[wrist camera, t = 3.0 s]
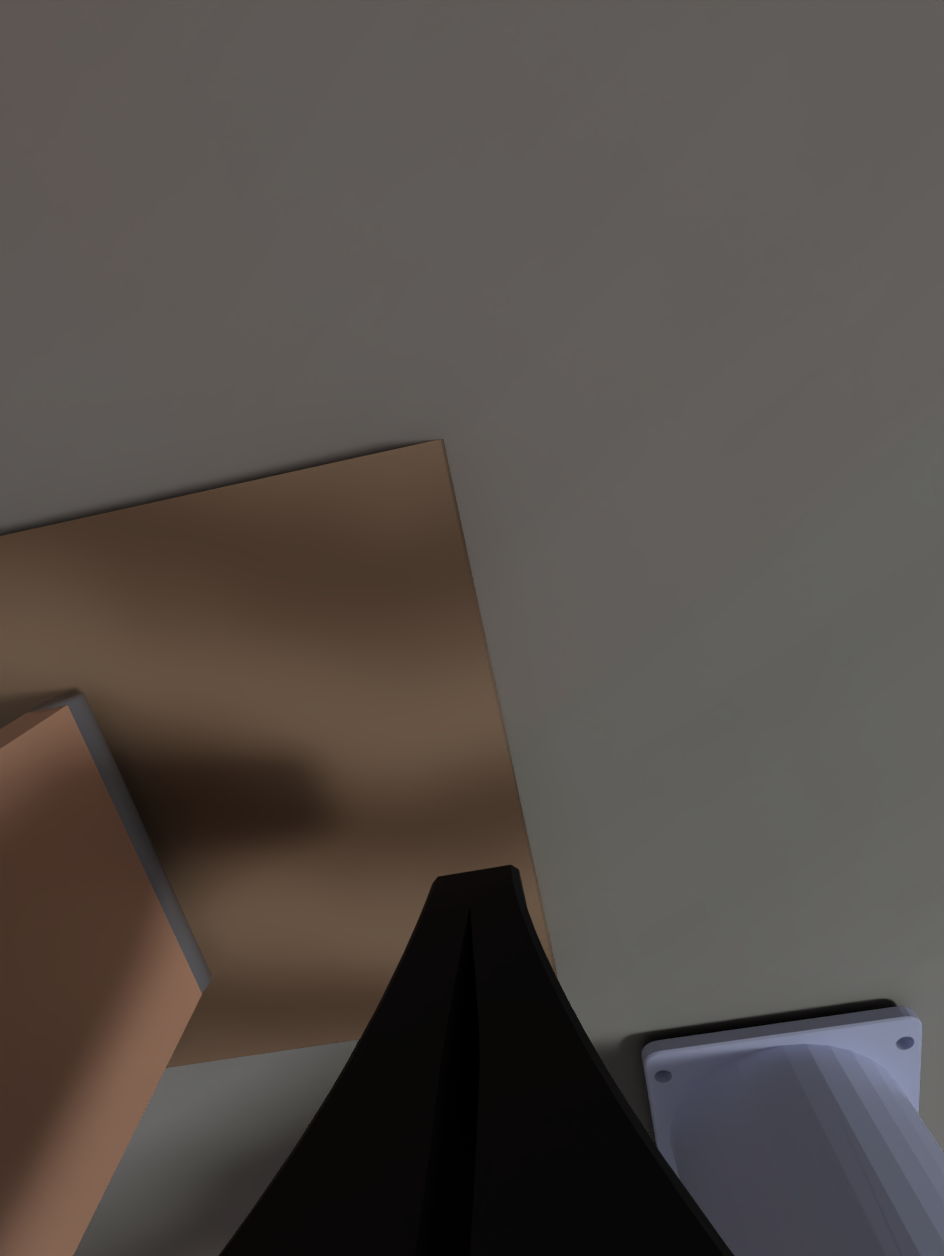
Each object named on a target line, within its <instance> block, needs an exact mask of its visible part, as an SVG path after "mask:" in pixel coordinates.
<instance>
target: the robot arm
mask: <svg viewBox="0 0 944 1256" xmlns="http://www.w3.org/2000/svg"><path fill="white" fill-rule="evenodd" d="M921 1044H922V1024H921V1021H920V1020H919V1019H918V1017H917V1016H916V1015H915V1013H914V1012H913V1011H912V1010H911V1009H909V1008H906V1007H903V1006H896V1007H889V1008H882V1009H875V1010H867V1011H860V1012H853V1013H846V1014H839V1015H832V1016H825V1017H818V1018H811V1019H804V1020H797V1021H790V1022H783V1023H776V1024H769V1025H762V1026H755V1027H748V1028H741V1029H734V1030H727V1031H720V1032H713V1033H706V1034H699V1035H692V1036H684V1037H677V1038H670V1039H663V1040H656V1041H653V1042H650V1043H648V1044H647V1045H646V1046H645V1047H644V1048H643V1050H642V1055H641V1056H642V1062H643V1068H644V1074H645V1080H646V1086H647V1092H648V1098H649V1105H650V1111H651V1117H652V1123H653V1129H654V1135H655V1141H656V1145H655V1144H654V1142H653V1141H652V1139H651V1137H650V1136H649V1134H648V1133H647V1131H646V1130H645V1128H644V1127H643V1125H642V1124H641V1122H640V1121H639V1119H638V1118H637V1116H636V1115H635V1113H634V1112H633V1110H632V1109H631V1107H630V1106H629V1104H628V1102H627V1101H626V1099H625V1098H624V1096H623V1094H622V1093H621V1091H620V1089H619V1088H618V1086H617V1085H616V1083H615V1081H614V1080H613V1078H612V1077H611V1075H610V1073H609V1072H608V1070H607V1069H606V1067H605V1065H604V1063H603V1062H602V1060H601V1058H600V1057H599V1055H598V1053H597V1052H596V1050H595V1048H594V1046H593V1045H592V1043H591V1041H590V1039H589V1038H588V1036H587V1034H586V1032H585V1031H584V1029H583V1027H582V1025H581V1023H580V1021H579V1020H578V1018H577V1016H576V1014H575V1012H574V1010H573V1009H572V1007H571V1005H570V1003H569V1001H568V999H567V997H566V995H565V993H564V991H563V989H562V987H561V985H560V983H559V981H558V979H557V977H556V975H555V973H554V971H553V968H552V966H551V964H550V962H549V960H548V958H547V956H546V953H545V951H544V949H543V947H542V945H541V942H540V940H539V938H538V935H537V933H536V930H535V928H534V925H533V922H532V920H531V917H530V914H529V911H528V908H527V904H526V899H525V895H524V890H523V885H522V881H521V876H520V872H519V869H517V868H516V867H514V866H513V865H505V866H499V867H493V868H487V869H481V870H475V871H468V872H462V873H456V874H450V875H444V876H438V877H437V878H436V879H435V881H434V882H433V883H432V886H431V888H430V891H429V894H428V896H427V899H426V901H425V904H424V906H423V909H422V911H421V914H420V916H419V919H418V921H417V923H416V926H415V928H414V930H413V933H412V935H411V937H410V939H409V942H408V944H407V946H406V948H405V951H404V953H403V955H402V957H401V959H400V961H399V963H398V965H397V967H396V969H395V972H394V974H393V976H392V978H391V980H390V982H389V984H388V986H387V988H386V990H385V992H384V994H383V996H382V998H381V1000H380V1002H379V1004H378V1006H377V1008H376V1010H375V1012H374V1014H373V1016H372V1017H371V1019H370V1021H369V1023H368V1025H367V1027H366V1028H365V1030H364V1032H363V1034H362V1036H361V1038H360V1039H359V1041H358V1043H357V1045H356V1047H355V1049H354V1051H353V1052H352V1054H351V1056H350V1058H349V1060H348V1061H347V1063H346V1065H345V1067H344V1068H343V1070H342V1072H341V1074H340V1075H339V1077H338V1079H337V1080H336V1082H335V1084H334V1085H333V1087H332V1089H331V1091H330V1092H329V1094H328V1095H327V1097H326V1099H325V1100H324V1102H323V1104H322V1105H321V1107H320V1109H319V1110H318V1112H317V1113H316V1115H315V1116H314V1118H313V1120H312V1121H311V1123H310V1124H309V1126H308V1127H307V1129H306V1131H305V1132H304V1134H303V1135H302V1137H301V1138H300V1140H299V1142H298V1143H297V1145H296V1146H295V1148H294V1149H293V1151H292V1152H291V1154H290V1155H289V1157H288V1158H287V1159H286V1161H285V1162H284V1164H283V1165H282V1167H281V1168H280V1170H279V1171H278V1173H277V1174H276V1175H275V1177H274V1178H273V1180H272V1181H271V1183H270V1184H269V1186H268V1187H267V1189H266V1190H265V1192H264V1193H263V1194H262V1196H261V1197H260V1199H259V1200H258V1202H257V1203H256V1205H255V1206H254V1208H253V1209H252V1210H251V1212H250V1213H249V1215H248V1216H247V1217H246V1219H245V1220H244V1222H243V1223H242V1224H241V1226H240V1227H239V1228H238V1230H237V1231H236V1233H235V1234H234V1235H233V1237H232V1238H231V1239H230V1241H229V1242H228V1244H227V1245H226V1246H225V1248H224V1249H223V1250H222V1252H221V1253H220V1254H219V1256H944V1153H943V1151H942V1150H941V1148H940V1147H939V1145H938V1143H937V1142H936V1140H935V1139H934V1137H933V1136H932V1134H931V1133H930V1131H929V1130H928V1128H927V1127H926V1125H925V1124H924V1122H923V1120H922V1119H921V1117H920V1116H919V1091H920V1067H921Z"/></svg>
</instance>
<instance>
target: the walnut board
mask: <svg viewBox="0 0 944 1256" xmlns="http://www.w3.org/2000/svg"><path fill="white" fill-rule="evenodd" d="M73 692H84V694H85V696H86V698H87V701H88V703H89V705H90V707H91V709H92V712H93V714H94V716H95V718H96V720H97V723H98V725H99V727H100V729H101V731H102V734H103V736H104V738H105V740H106V742H107V745H108V747H109V749H110V751H111V754H112V756H113V758H114V760H115V762H116V765H117V767H118V769H119V771H120V773H121V776H122V778H123V780H124V782H125V784H126V787H127V789H128V791H129V793H130V796H131V798H132V800H133V802H134V804H135V807H136V809H137V811H138V813H139V815H140V818H141V820H142V822H143V824H144V826H145V829H146V831H147V833H148V835H149V837H150V840H151V842H152V844H153V846H154V849H155V851H156V853H157V855H158V857H159V860H160V862H161V864H162V866H163V868H164V871H165V873H166V875H167V877H168V879H169V882H170V884H171V886H172V888H173V891H174V893H175V895H176V897H177V899H178V902H179V904H180V906H181V908H182V910H183V913H184V915H185V917H186V919H187V921H188V924H189V926H190V928H191V930H192V932H193V935H194V937H195V939H196V941H197V944H198V946H199V948H200V950H201V952H202V955H203V957H204V959H205V961H206V963H207V966H208V968H209V970H210V972H211V980H210V983H209V984H208V986H207V988H206V989H205V990H204V991H203V992H202V995H201V997H200V999H199V1001H198V1003H197V1005H196V1008H195V1010H194V1012H193V1014H192V1016H191V1018H190V1020H189V1022H188V1024H187V1026H186V1028H185V1030H184V1032H183V1034H182V1036H181V1038H180V1040H179V1042H178V1044H177V1046H176V1048H175V1050H174V1052H173V1054H172V1056H171V1058H170V1060H169V1062H168V1064H167V1066H166V1068H168V1067H175V1066H182V1065H189V1064H195V1063H202V1062H209V1061H216V1060H222V1059H229V1058H236V1057H243V1056H250V1055H256V1054H263V1053H270V1052H277V1051H283V1050H290V1049H297V1048H304V1047H311V1046H317V1045H324V1044H331V1043H338V1042H344V1041H351V1040H358V1039H360V1038H361V1036H362V1034H363V1032H364V1030H365V1028H366V1027H367V1025H368V1023H369V1021H370V1019H371V1017H372V1016H373V1014H374V1012H375V1010H376V1008H377V1006H378V1004H379V1002H380V1000H381V998H382V996H383V994H384V992H385V990H386V988H387V986H388V984H389V982H390V980H391V978H392V976H393V974H394V972H395V969H396V967H397V965H398V963H399V961H400V959H401V957H402V955H403V953H404V951H405V948H406V946H407V944H408V942H409V939H410V937H411V935H412V933H413V930H414V928H415V926H416V923H417V921H418V919H419V916H420V914H421V911H422V909H423V906H424V904H425V901H426V899H427V896H428V894H429V891H430V888H431V886H432V883H433V882H434V881H435V879H436V878H437V877H438V876H444V875H450V874H456V873H462V872H468V871H475V870H481V869H487V868H493V867H499V866H505V865H513V866H514V867H516V868H517V869H519V872H520V876H521V881H522V885H523V890H524V895H525V899H526V904H527V908H528V911H529V914H530V917H531V920H532V922H533V925H534V928H535V930H536V933H537V935H538V938H539V940H540V942H541V945H542V947H543V949H544V951H545V953H546V956H547V958H548V960H549V962H550V964H551V966H552V968H553V971H554V973H555V975H556V977H557V972H556V967H555V962H554V958H553V953H552V948H551V943H550V939H549V934H548V929H547V925H546V920H545V915H544V911H543V906H542V901H541V897H540V892H539V887H538V882H537V878H536V873H535V868H534V864H533V859H532V854H531V850H530V845H529V840H528V835H527V831H526V826H525V821H524V817H523V812H522V807H521V803H520V798H519V793H518V788H517V784H516V779H515V774H514V770H513V765H512V760H511V756H510V751H509V746H508V741H507V737H506V732H505V727H504V723H503V718H502V713H501V709H500V704H499V699H498V695H497V690H496V685H495V680H494V676H493V671H492V666H491V662H490V657H489V652H488V648H487V643H486V638H485V633H484V629H483V624H482V619H481V615H480V610H479V605H478V601H477V596H476V591H475V586H474V582H473V577H472V572H471V568H470V563H469V558H468V554H467V549H466V544H465V540H464V535H463V530H462V525H461V521H460V516H459V511H458V507H457V502H456V497H455V493H454V488H453V483H452V478H451V474H450V469H449V464H448V460H447V455H446V450H445V446H444V441H443V439H439V440H434V441H430V442H425V443H421V444H416V445H412V446H407V447H403V448H398V449H393V450H389V451H384V452H380V453H375V454H371V455H366V456H362V457H357V458H353V459H348V460H343V461H339V462H334V463H330V464H325V465H321V466H316V467H312V468H307V469H303V470H298V471H293V472H289V473H284V474H280V475H275V476H271V477H266V478H262V479H257V480H253V481H248V482H243V483H239V484H234V485H230V486H225V487H221V488H216V489H212V490H207V491H203V492H198V493H193V494H189V495H184V496H180V497H175V498H171V499H166V500H162V501H157V502H153V503H148V504H143V505H139V506H134V507H130V508H125V509H121V510H116V511H112V512H107V513H103V514H98V515H93V516H89V517H84V518H80V519H75V520H71V521H66V522H62V523H57V524H53V525H48V526H43V527H39V528H34V529H30V530H25V531H21V532H16V533H12V534H7V535H3V536H0V729H1V728H3V727H5V726H6V725H8V724H9V723H11V722H13V721H14V720H16V719H18V718H19V717H21V716H23V715H24V714H26V713H28V712H30V710H31V709H33V708H34V707H36V706H38V705H39V704H41V703H43V702H46V701H48V700H50V699H53V698H56V697H59V696H62V695H65V694H69V693H73Z"/></svg>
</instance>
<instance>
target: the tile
mask: <svg viewBox="0 0 944 1256" xmlns="http://www.w3.org/2000/svg"><path fill="white" fill-rule="evenodd" d="M210 980H211V972H210V970H209V968H208V966H207V963H206V961H205V959H204V957H203V955H202V952H201V950H200V948H199V946H198V944H197V941H196V939H195V937H194V935H193V932H192V930H191V928H190V926H189V924H188V921H187V919H186V917H185V915H184V913H183V910H182V908H181V906H180V904H179V902H178V899H177V897H176V895H175V893H174V891H173V888H172V886H171V884H170V882H169V879H168V877H167V875H166V873H165V871H164V868H163V866H162V864H161V862H160V860H159V857H158V855H157V853H156V851H155V849H154V846H153V844H152V842H151V840H150V837H149V835H148V833H147V831H146V829H145V826H144V824H143V822H142V820H141V818H140V815H139V813H138V811H137V809H136V807H135V804H134V802H133V800H132V798H131V796H130V793H129V791H128V789H127V787H126V784H125V782H124V780H123V778H122V776H121V773H120V771H119V769H118V767H117V765H116V762H115V760H114V758H113V756H112V754H111V751H110V749H109V747H108V745H107V742H106V740H105V738H104V736H103V734H102V731H101V729H100V727H99V725H98V723H97V720H96V718H95V716H94V714H93V712H92V709H91V707H90V705H89V703H88V701H87V698H86V696H85V694H84V692H73V693H69V694H65V695H62V696H59V697H56V698H53V699H50V700H48V701H46V702H43V703H41V704H39V705H38V706H36V707H34V708H33V709H31V710H30V712H28V713H26V714H24V715H23V716H21V717H19V718H18V719H16V720H14V721H13V722H11V723H9V724H8V725H6V726H5V727H3V728H1V729H0V1256H73V1255H74V1253H75V1251H76V1249H77V1247H78V1245H79V1243H80V1241H81V1239H82V1237H83V1235H84V1233H85V1231H86V1229H87V1227H88V1225H89V1223H90V1221H91V1219H92V1217H93V1214H94V1212H95V1210H96V1208H97V1206H98V1204H99V1202H100V1200H101V1198H102V1196H103V1194H104V1192H105V1190H106V1188H107V1186H108V1184H109V1182H110V1180H111V1178H112V1176H113V1174H114V1172H115V1170H116V1168H117V1166H118V1164H119V1162H120V1160H121V1158H122V1156H123V1154H124V1152H125V1150H126V1148H127V1145H128V1143H129V1141H130V1139H131V1137H132V1135H133V1133H134V1131H135V1129H136V1127H137V1125H138V1123H139V1121H140V1119H141V1117H142V1115H143V1113H144V1111H145V1109H146V1107H147V1105H148V1103H149V1101H150V1099H151V1097H152V1095H153V1093H154V1091H155V1089H156V1087H157V1085H158V1083H159V1081H160V1079H161V1076H162V1074H163V1072H164V1070H165V1068H166V1066H167V1064H168V1062H169V1060H170V1058H171V1056H172V1054H173V1052H174V1050H175V1048H176V1046H177V1044H178V1042H179V1040H180V1038H181V1036H182V1034H183V1032H184V1030H185V1028H186V1026H187V1024H188V1022H189V1020H190V1018H191V1016H192V1014H193V1012H194V1010H195V1008H196V1005H197V1003H198V1001H199V999H200V997H201V995H202V992H203V991H204V990H205V989H206V988H207V986H208V984H209V983H210Z"/></svg>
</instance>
